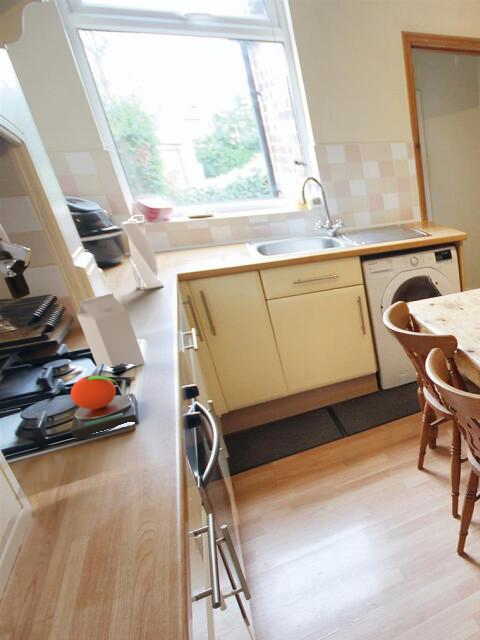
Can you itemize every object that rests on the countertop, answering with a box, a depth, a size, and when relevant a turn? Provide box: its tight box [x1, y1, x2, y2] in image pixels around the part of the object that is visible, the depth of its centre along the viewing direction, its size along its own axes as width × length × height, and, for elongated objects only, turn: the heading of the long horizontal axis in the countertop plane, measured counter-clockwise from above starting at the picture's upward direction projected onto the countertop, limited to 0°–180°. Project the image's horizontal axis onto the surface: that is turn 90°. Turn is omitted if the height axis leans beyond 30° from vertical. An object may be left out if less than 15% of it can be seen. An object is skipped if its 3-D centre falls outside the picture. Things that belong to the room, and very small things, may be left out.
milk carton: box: [76, 292, 146, 368], centre depth 117 cm, size 7×7×19 cm
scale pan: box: [75, 394, 132, 422], centre depth 97 cm, size 9×9×1 cm
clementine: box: [70, 374, 119, 409], centre depth 96 cm, size 8×7×7 cm
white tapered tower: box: [120, 213, 165, 292], centre depth 180 cm, size 8×8×28 cm
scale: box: [70, 392, 140, 439], centre depth 97 cm, size 11×10×3 cm
